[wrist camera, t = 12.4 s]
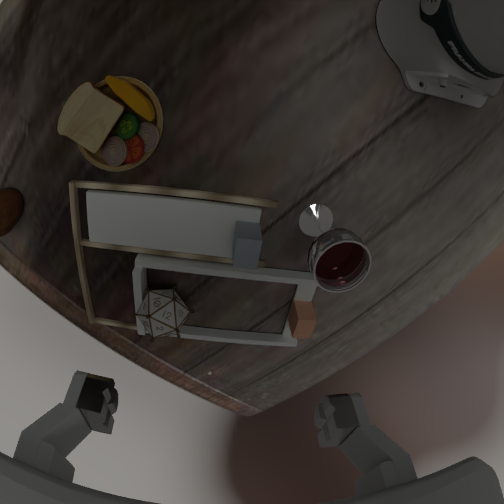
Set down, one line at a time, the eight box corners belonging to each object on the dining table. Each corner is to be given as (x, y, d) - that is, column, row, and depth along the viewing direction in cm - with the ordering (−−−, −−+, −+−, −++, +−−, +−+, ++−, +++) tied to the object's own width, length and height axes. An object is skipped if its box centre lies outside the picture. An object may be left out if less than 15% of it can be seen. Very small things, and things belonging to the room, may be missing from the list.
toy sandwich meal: (122, 187, 37) (110, 200, 33) (58, 126, 32) (40, 132, 28) (185, 119, 34) (178, 123, 29) (114, 53, 28) (99, 50, 24)
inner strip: (261, 207, 40) (265, 227, 34) (251, 256, 43) (254, 281, 38) (89, 189, 36) (69, 206, 31) (92, 238, 40) (75, 259, 35)
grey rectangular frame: (319, 273, 46) (328, 293, 41) (296, 338, 53) (301, 359, 48) (138, 253, 42) (129, 272, 38) (142, 324, 49) (136, 344, 45)
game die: (170, 292, 51) (148, 345, 46) (139, 267, 44) (113, 325, 40) (212, 299, 46) (189, 359, 42) (182, 273, 40) (153, 341, 35)
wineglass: (344, 230, 42) (377, 277, 32) (302, 249, 43) (323, 302, 33) (330, 190, 39) (364, 229, 29) (284, 210, 40) (303, 256, 30)
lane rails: (277, 200, 39) (278, 204, 38) (246, 339, 52) (246, 344, 51) (72, 180, 36) (68, 182, 35) (91, 319, 48) (89, 323, 47)
